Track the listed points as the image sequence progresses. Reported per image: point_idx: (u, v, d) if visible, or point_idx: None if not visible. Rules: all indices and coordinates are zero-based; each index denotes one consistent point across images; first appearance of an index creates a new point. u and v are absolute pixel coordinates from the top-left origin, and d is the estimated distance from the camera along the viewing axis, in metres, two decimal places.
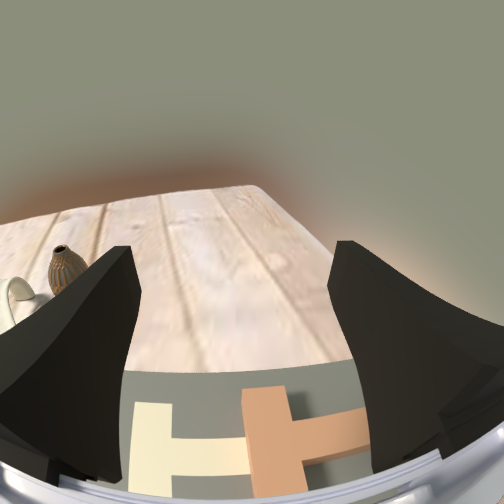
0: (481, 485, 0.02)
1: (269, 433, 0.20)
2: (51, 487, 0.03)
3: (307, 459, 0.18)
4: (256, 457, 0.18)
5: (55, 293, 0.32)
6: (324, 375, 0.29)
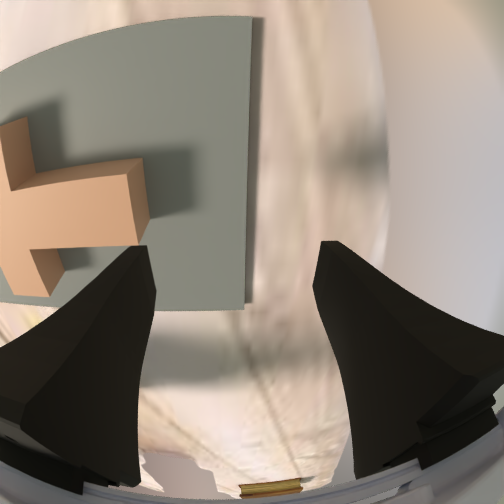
0: (481, 485, 0.02)
1: None
2: (51, 487, 0.03)
3: None
4: None
5: None
6: (97, 59, 0.11)
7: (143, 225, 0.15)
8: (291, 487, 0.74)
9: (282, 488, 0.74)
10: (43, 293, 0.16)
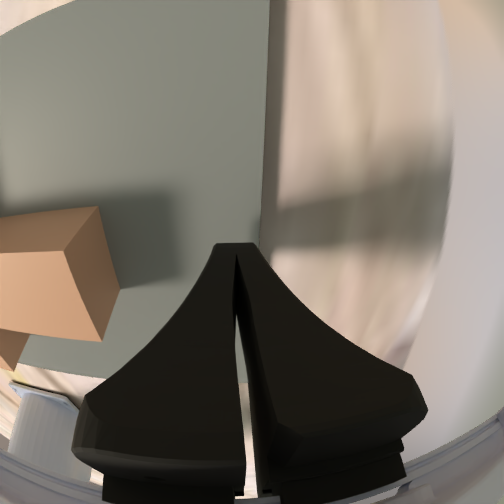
0: (481, 485, 0.02)
1: None
2: (51, 487, 0.03)
3: None
4: None
5: None
6: (29, 57, 0.06)
7: (108, 307, 0.10)
8: None
9: None
10: (6, 367, 0.10)
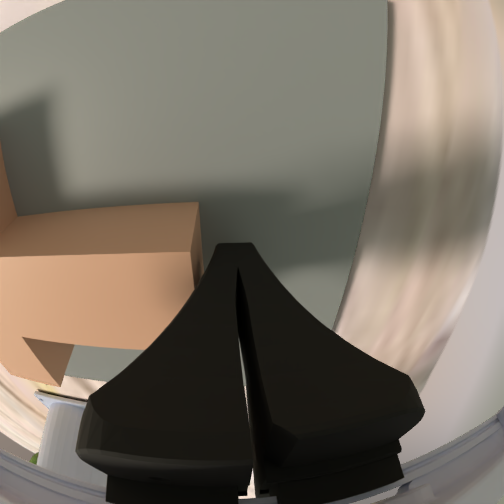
0: (480, 485, 0.02)
1: None
2: (51, 487, 0.03)
3: None
4: None
5: None
6: (121, 23, 0.06)
7: None
8: None
9: None
10: (50, 382, 0.10)
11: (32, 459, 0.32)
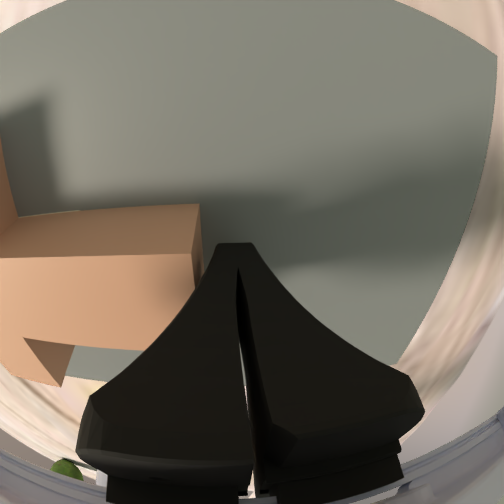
0: (480, 485, 0.02)
1: None
2: (51, 487, 0.03)
3: None
4: None
5: None
6: (330, 22, 0.06)
7: None
8: None
9: None
10: (51, 382, 0.10)
11: (53, 467, 0.33)
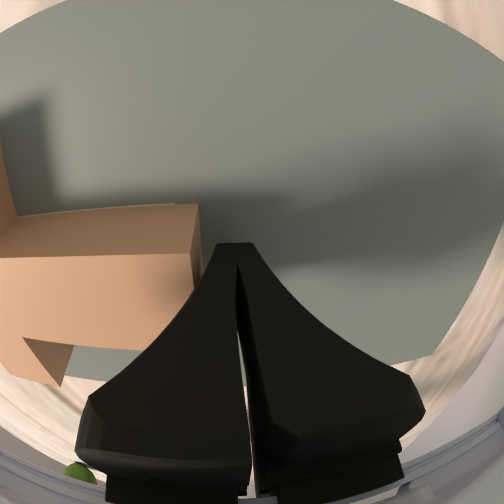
0: (481, 485, 0.02)
1: None
2: (51, 487, 0.03)
3: None
4: None
5: None
6: (424, 51, 0.07)
7: None
8: None
9: None
10: (50, 382, 0.10)
11: (66, 472, 0.33)
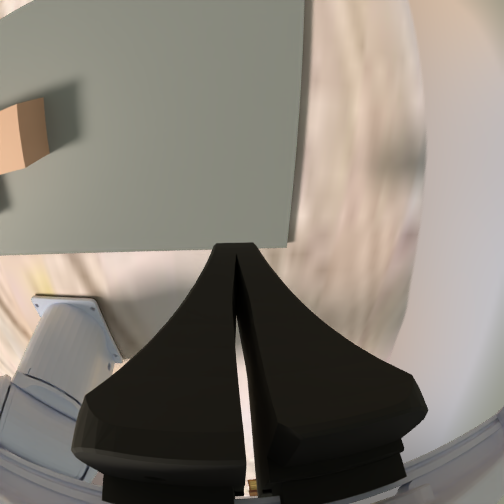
0: (481, 485, 0.02)
1: None
2: (51, 487, 0.03)
3: None
4: None
5: None
6: None
7: (36, 154, 0.13)
8: None
9: None
10: None
11: None
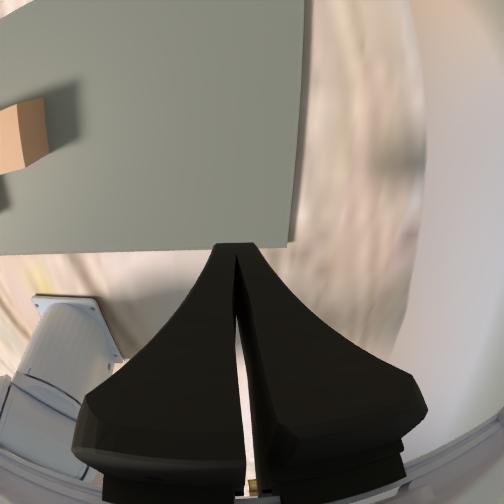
0: (480, 485, 0.02)
1: None
2: (51, 487, 0.03)
3: None
4: None
5: None
6: None
7: (36, 154, 0.13)
8: None
9: None
10: None
11: None
